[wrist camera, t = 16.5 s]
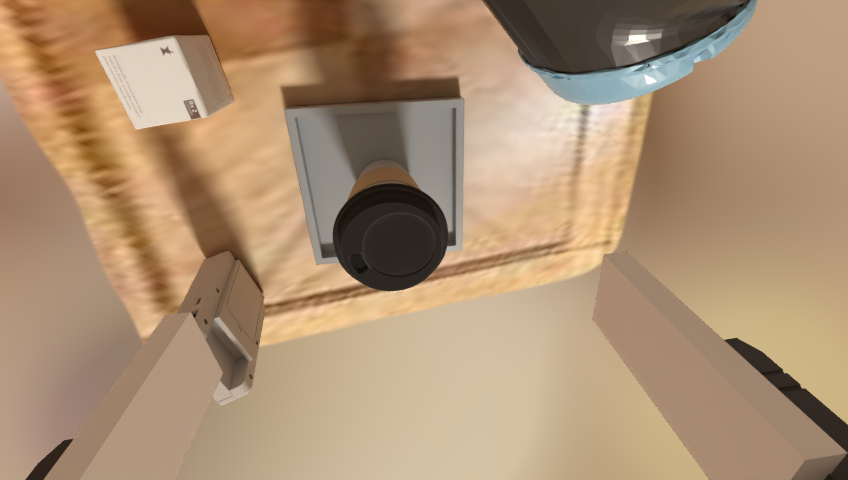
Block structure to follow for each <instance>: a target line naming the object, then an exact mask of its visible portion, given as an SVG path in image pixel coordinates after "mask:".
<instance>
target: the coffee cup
mask: <svg viewBox="0 0 848 480" xmlns="http://www.w3.org/2000/svg"><path fill="white" fill-rule="evenodd" d="M447 244H448V226H447V221H446V218H445V216H444V213H443V211H442V210H441V208H440V207H439V205H438V204H437V203H436V202H435V200H433V199H432V198H431V197H430V196H429V195H428V194H426V193H425V192H423V191H421V190H420V188H419V187H418V185H417V184H416V182H415V181H414V179H413V178H412V177H411V176H410V175H409V174H408V173H407V171H406V170H405V169H404V167H403V166H402V165H400V164H399V163H398V162H396V161H393V160H389V159H383V160H378V161H375V162H373V163H371V164H369V165H368V166H367V167H365V168H364V170H363V171H362V172H361V174H360V176H359V178H358V180H357V182H356V183H355V184H354V186H353V188H352V190H351V193H350V195H349V197H348V200H347V202H346V203H345V204H344V205H343V207H342V208H341V210H340V211H339V213H338V215H337V217H336V220H335V222H334V227H333V245H334V249H335V253H336V256H337V258H338V260H339V262H340V264H341V265H342V267H343V268H344V269H345V271H346V272H347V273H348V274H350V275H351V276H352V277H353V278H355V279H356V280H358V281H359V282H361V283H362V284H364V285H366V286H368V287H370V288H373V289H377V290H382V291H399V290H404V289H407V288H410V287H413V286H415V285H417V284H419V283H421V282H422V281H424V280H425V279H426V278H427V277H428V276H429V275H430V274H431V273H432V272H433V271H434V270H435V269H436V268H437V267H438V265H439V264H440V262H441V261H442V259H443V257H444V255H445V252H446V249H447Z"/></svg>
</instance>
